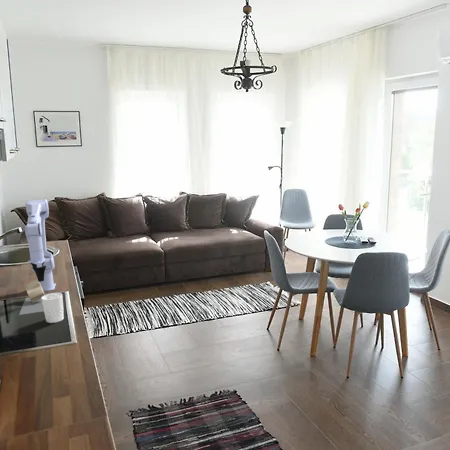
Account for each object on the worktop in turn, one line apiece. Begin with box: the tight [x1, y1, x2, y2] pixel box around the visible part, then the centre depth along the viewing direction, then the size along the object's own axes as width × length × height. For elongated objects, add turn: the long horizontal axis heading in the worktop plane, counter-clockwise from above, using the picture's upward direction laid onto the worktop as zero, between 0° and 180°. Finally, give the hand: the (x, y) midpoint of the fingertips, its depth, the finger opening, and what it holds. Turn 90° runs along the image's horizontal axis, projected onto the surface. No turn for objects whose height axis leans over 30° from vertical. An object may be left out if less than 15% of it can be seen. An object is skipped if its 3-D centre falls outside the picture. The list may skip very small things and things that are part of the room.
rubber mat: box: [18, 296, 44, 316], centre depth 205 cm, size 22×14×1 cm, turn 16°
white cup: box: [41, 292, 65, 324], centre depth 185 cm, size 8×8×10 cm
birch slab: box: [23, 276, 46, 303], centre depth 209 cm, size 3×6×10 cm
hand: (40, 279), depth 209 cm, fingers open, 7 cm apart
